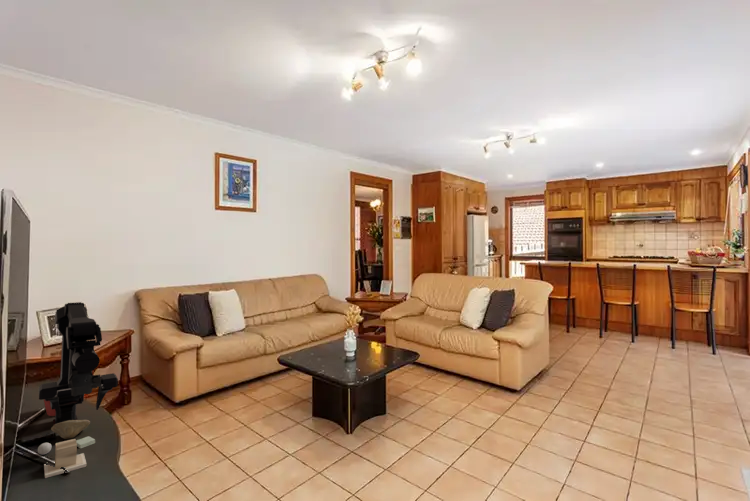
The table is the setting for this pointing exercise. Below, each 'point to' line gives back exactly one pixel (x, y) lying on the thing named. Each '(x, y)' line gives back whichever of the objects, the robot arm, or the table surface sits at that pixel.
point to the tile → (85, 442)
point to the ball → (44, 448)
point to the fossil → (70, 428)
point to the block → (65, 453)
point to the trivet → (51, 470)
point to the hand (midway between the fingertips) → (78, 413)
